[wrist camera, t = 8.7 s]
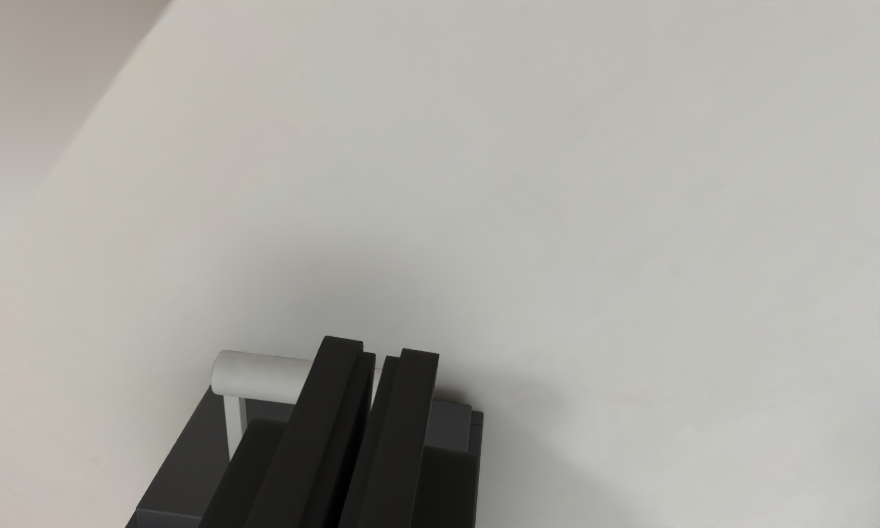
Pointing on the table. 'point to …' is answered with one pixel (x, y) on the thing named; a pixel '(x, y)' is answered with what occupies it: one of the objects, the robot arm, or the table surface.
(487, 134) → the table surface
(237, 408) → the drawer
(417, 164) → the table surface
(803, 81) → the table surface
